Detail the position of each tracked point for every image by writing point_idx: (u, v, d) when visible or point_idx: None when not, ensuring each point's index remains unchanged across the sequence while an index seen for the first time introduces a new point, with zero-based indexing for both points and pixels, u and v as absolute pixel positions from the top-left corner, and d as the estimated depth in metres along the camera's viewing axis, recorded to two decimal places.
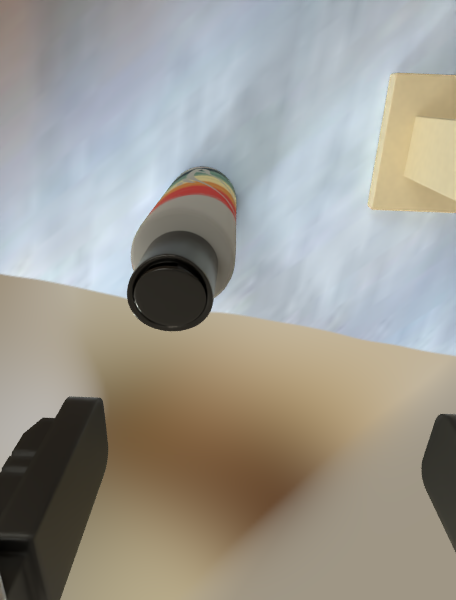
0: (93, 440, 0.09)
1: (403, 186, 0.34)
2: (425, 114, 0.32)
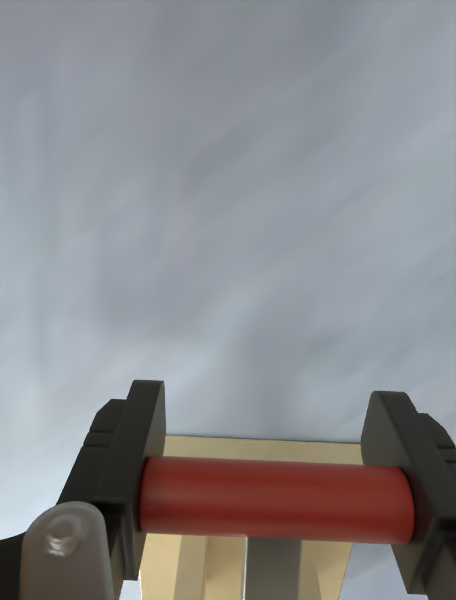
0: (159, 420, 0.10)
1: None
2: None
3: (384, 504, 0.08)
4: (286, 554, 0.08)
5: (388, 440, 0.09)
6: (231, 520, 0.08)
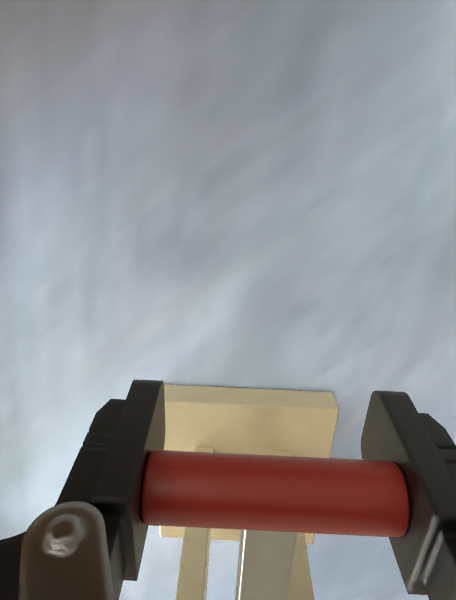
0: (159, 420, 0.10)
1: None
2: (209, 445, 0.22)
3: (380, 514, 0.08)
4: (282, 540, 0.09)
5: (389, 439, 0.09)
6: (230, 524, 0.08)
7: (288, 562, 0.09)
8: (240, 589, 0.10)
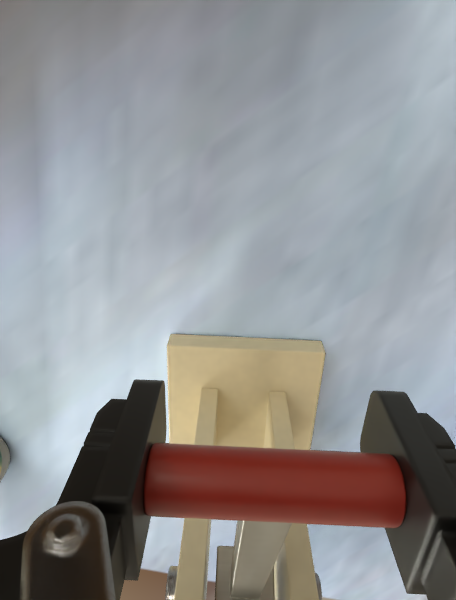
0: (159, 420, 0.10)
1: None
2: (213, 386, 0.25)
3: (376, 516, 0.08)
4: None
5: (388, 439, 0.09)
6: (230, 519, 0.09)
7: (284, 531, 0.10)
8: (240, 542, 0.11)
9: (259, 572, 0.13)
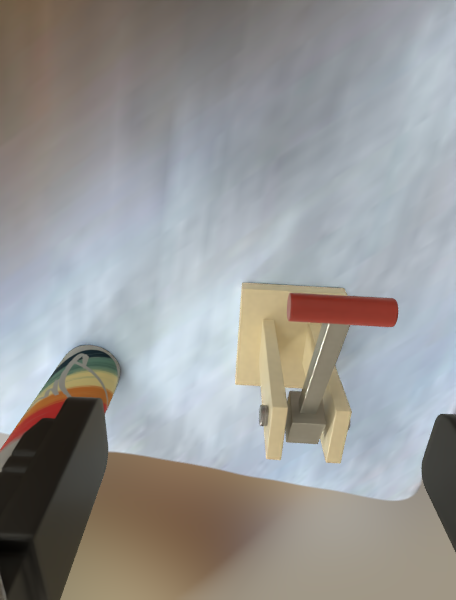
0: (93, 440, 0.09)
1: None
2: (271, 318, 0.37)
3: (385, 318, 0.21)
4: (343, 328, 0.21)
5: None
6: (325, 321, 0.21)
7: (344, 337, 0.22)
8: (321, 348, 0.23)
9: (323, 379, 0.25)
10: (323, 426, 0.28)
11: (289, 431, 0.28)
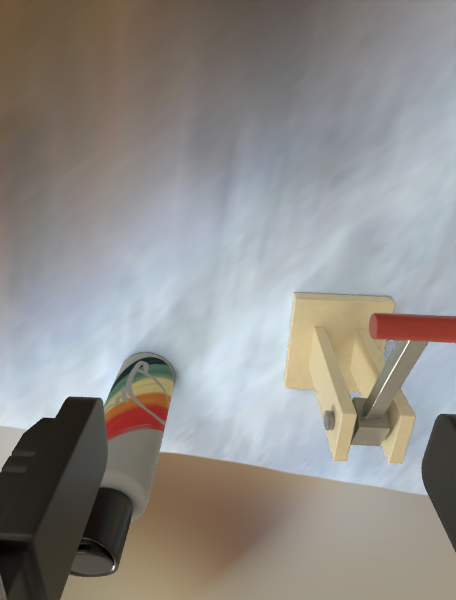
0: (93, 440, 0.09)
1: (309, 373, 0.42)
2: (322, 326, 0.39)
3: None
4: (421, 344, 0.24)
5: None
6: (407, 338, 0.23)
7: (420, 352, 0.24)
8: (397, 361, 0.25)
9: (394, 388, 0.27)
10: (388, 430, 0.30)
11: (355, 435, 0.30)
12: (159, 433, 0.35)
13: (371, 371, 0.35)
